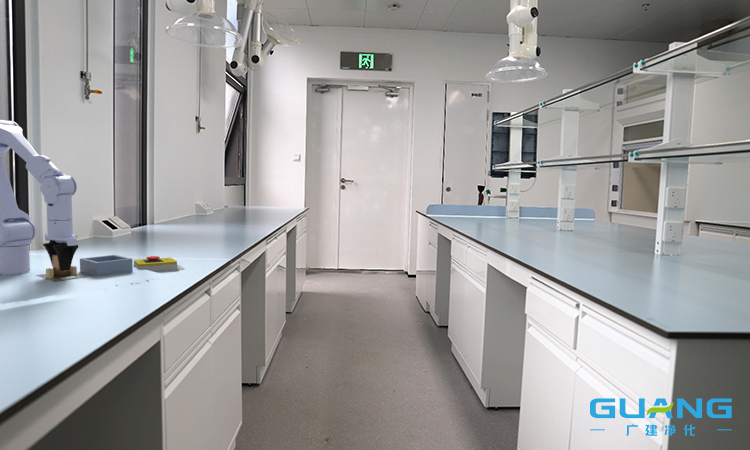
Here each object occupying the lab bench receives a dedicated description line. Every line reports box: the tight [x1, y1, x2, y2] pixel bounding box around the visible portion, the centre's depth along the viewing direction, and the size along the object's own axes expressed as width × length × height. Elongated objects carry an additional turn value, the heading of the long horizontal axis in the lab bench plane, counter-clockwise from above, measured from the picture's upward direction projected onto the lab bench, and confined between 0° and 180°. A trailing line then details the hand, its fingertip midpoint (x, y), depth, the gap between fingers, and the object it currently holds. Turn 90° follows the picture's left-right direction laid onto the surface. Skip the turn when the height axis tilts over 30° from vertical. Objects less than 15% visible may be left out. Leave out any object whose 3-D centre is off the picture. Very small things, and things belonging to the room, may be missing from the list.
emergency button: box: [133, 255, 185, 273], centre depth 150 cm, size 9×4×15 cm
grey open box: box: [79, 254, 134, 277], centre depth 138 cm, size 10×10×5 cm
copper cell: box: [51, 254, 70, 278], centre depth 130 cm, size 4×4×6 cm
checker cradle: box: [35, 265, 87, 283], centre depth 130 cm, size 12×8×4 cm, turn 56°
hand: (61, 268), depth 130 cm, fingers closed on copper cell, 4 cm apart
